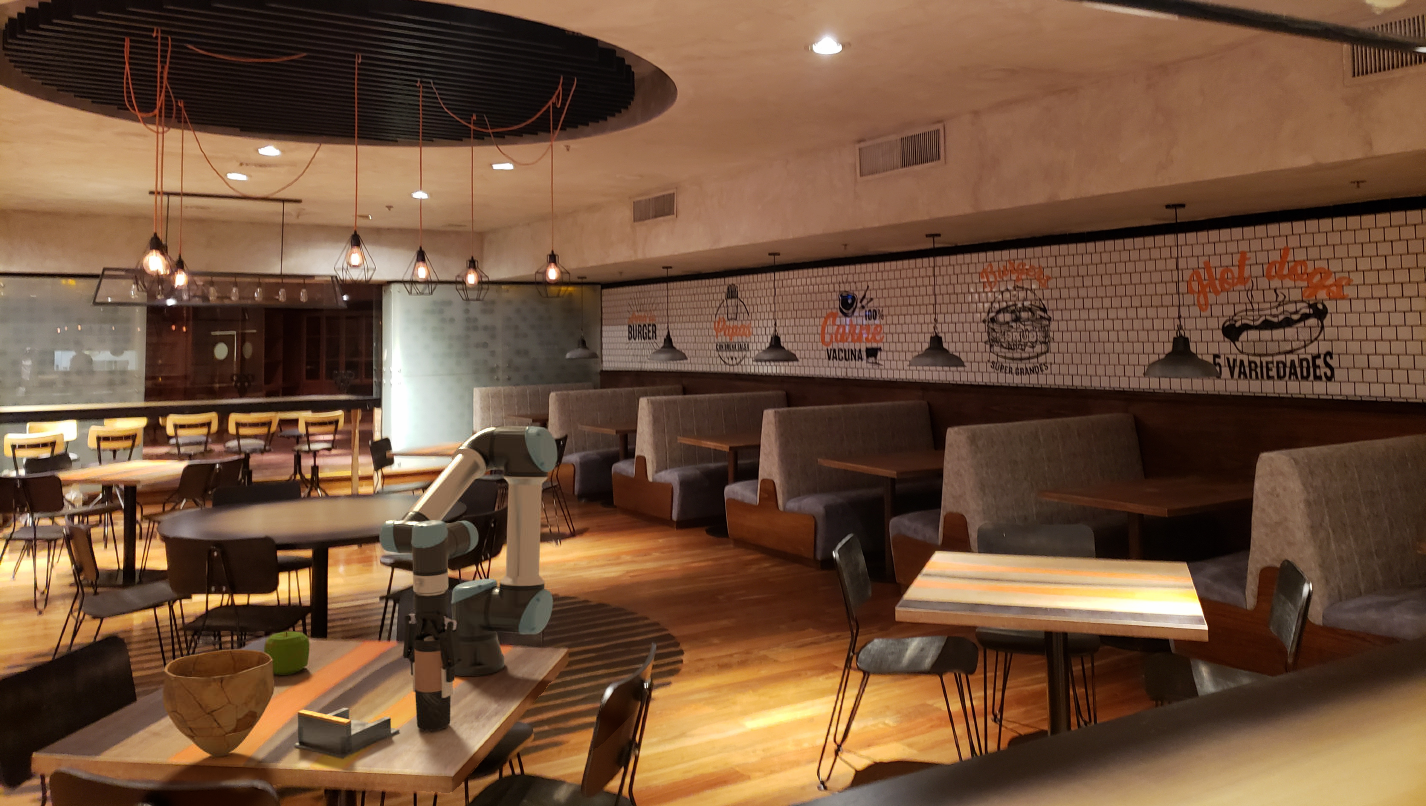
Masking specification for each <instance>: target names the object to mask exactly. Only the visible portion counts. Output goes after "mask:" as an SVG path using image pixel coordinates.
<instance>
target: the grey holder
mask: <svg viewBox="0 0 1426 806" xmlns="http://www.w3.org/2000/svg"><path fill="white" fill-rule="evenodd" d="M391 719H392V718H391V717H389V716H384V717H381V718H379V719H377V720H374V721H372V722H367V721H363V720H358V719H350V708H347V707H342V708H340V709H337V710H335V711H333V712H329V713H327V714H325V713H320V712H317V711H312V710H309V709H307V710H306V709H301V710H299V711H297V739H298V740H297V741H298V742H296V743H294V748H296V749H297V748H298V749H302V750H306V751H310V752H313V753H318V754H322V755H326V756H331V757H335V758H338V759H342V760H343V759H344V758H347V757H349V756H351V755H354V754H355V753H358V752H360V751H362V750H363V749H366V748H368V747H371V746H373V745H375V744H377V743H379V742H381V741H383V740H385V739H388V738H390V737H392V736H394V735H396V734H398V733H400V729H399V728H394V727H392V720H391Z"/></svg>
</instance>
